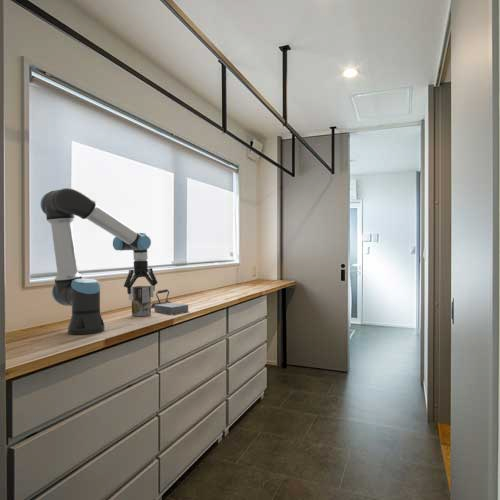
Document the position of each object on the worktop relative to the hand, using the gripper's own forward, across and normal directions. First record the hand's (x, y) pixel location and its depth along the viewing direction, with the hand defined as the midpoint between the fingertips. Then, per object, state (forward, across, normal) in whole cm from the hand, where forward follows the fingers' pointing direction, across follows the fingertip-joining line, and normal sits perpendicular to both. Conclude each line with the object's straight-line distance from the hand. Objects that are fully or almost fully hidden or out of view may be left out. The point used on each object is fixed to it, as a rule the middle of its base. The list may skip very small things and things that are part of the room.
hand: (141, 298), depth 206 cm
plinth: (+10, -16, +5) cm, 20 cm away
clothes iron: (+10, -26, -16) cm, 33 cm away
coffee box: (+10, 0, 0) cm, 10 cm away
